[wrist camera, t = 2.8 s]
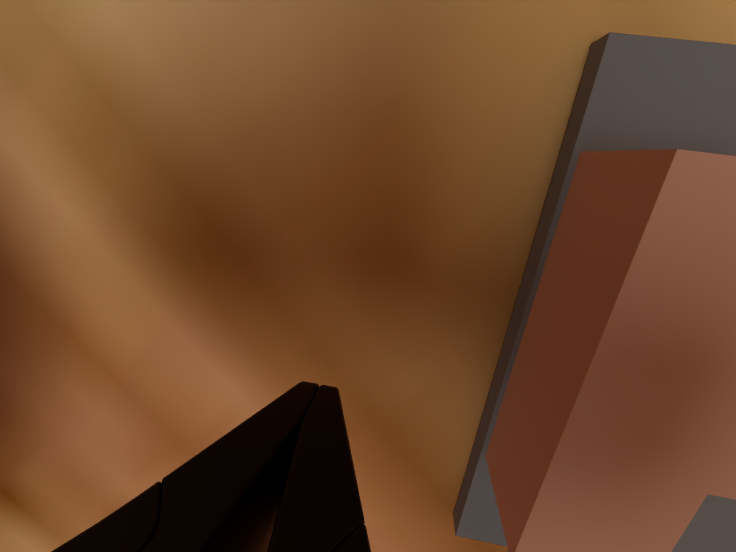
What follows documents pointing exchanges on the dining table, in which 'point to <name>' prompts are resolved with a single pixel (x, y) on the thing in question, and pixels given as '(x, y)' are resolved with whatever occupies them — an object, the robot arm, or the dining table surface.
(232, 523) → the robot arm
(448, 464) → the dining table surface
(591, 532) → the t block
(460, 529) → the board
